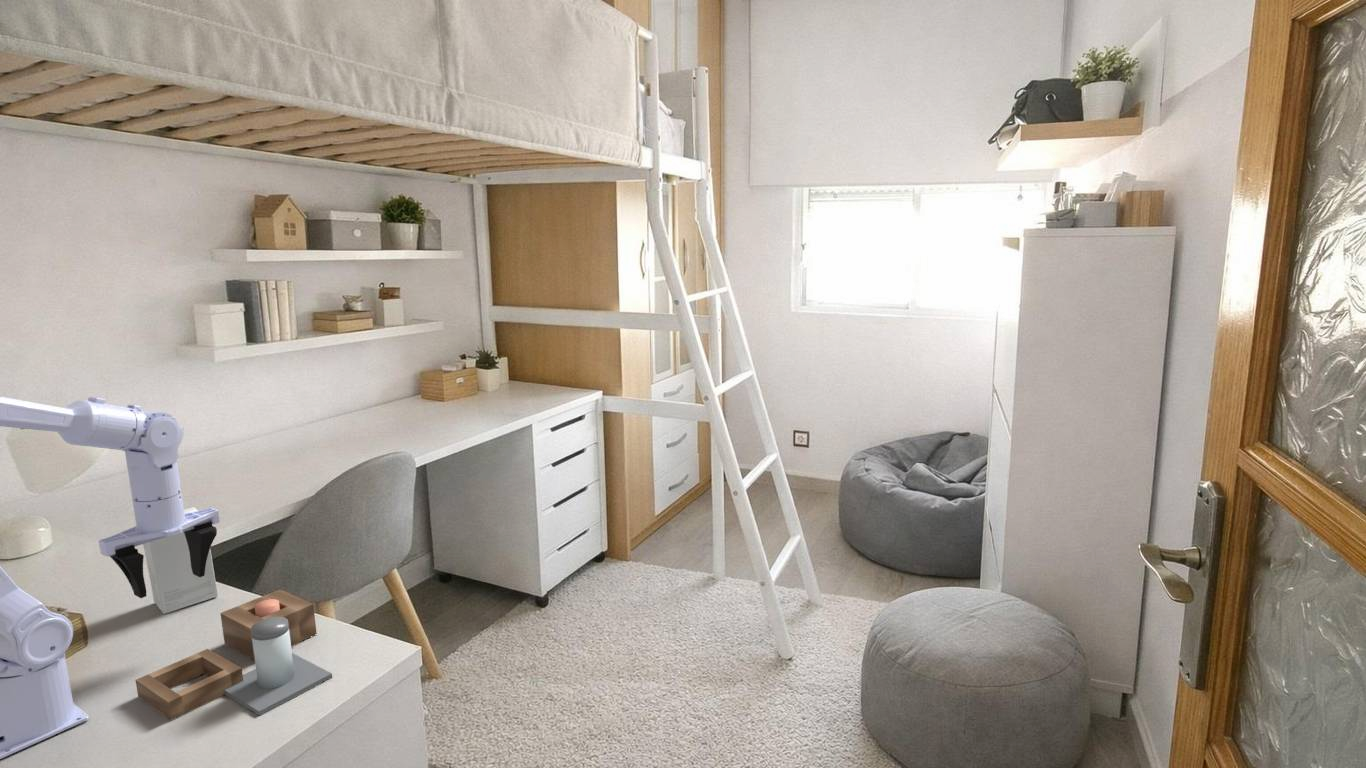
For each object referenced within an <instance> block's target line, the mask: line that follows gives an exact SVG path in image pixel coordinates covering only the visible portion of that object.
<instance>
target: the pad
mask: <svg viewBox="0 0 1366 768" xmlns="http://www.w3.org/2000/svg"><path fill="white" fill-rule="evenodd" d="M292 659H293V667H294V678H293V679H292V680H291V681H290V682H288V683H287V684H285V685H282V686H280V687H276V688H271V689H265V688H261V687H259V686H258V682H257V674H256V668H254V669H252V670H250V671H248V672H246V673H244V674H243V681H242V682H240V683H238V684H236V685H234V686H231V687H229V688H227V689H225V690H224V693H225V694H224V695H225V696H227V697H229V698H231V699H232V700H234V701H235V702H237V703H238V704H240V705H242V706H243V707H245V708H246V709H248V710H250V711H252V712H254V714H256V715H258V716H262V715H263V714H265V713H268V712H269V711H272V710H273V709H275V708H276V707H278V706H280V705H283V704H285V703H286V702H288V701H290V700H292V699H294V698H296V697H298V696H300V695H301V694H303V693H305V692H307V691H309V690H311V689H313V688H315V687H317V686H318V685H321V684H323V683H324V682H326V681H328V680H330V679H331V677H332V678H333V673H332V672H330V671H328V670H326V669H324V668H323V667H320V666H318V665H316V664H314V663H312V662H310V661H309V660H307V659H304V658H303V657H301V656H299V655H297V654H295V653H293V652H292ZM329 678H330V679H329ZM327 679H328V680H327ZM323 681H324V682H323ZM322 682H323V683H322ZM320 683H321V684H320Z"/></svg>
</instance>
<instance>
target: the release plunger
mask: <svg viewBox="0 0 1366 768" xmlns="http://www.w3.org/2000/svg"><path fill="white" fill-rule="evenodd" d="M279 610H280V606H279V601H278V600H276V599H269V600H264V601H261V602H259V603H257V604H256V605H255V614H256V615H257V616H259V617H261V618H262V617H264V616H267V615H269V614H272V613H274V612H276V611H279Z"/></svg>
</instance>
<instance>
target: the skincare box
mask: <svg viewBox="0 0 1366 768" xmlns="http://www.w3.org/2000/svg"><path fill="white" fill-rule="evenodd" d="M196 511H199V510H198V509H197V508H196V506H195V507H194V506H193V507H190V508H184V514H186V513H191V512H196ZM142 546H143V549H144V554H145V555H144V556H145V561H146V566H147V570H148V571H147V572H148V575H149V576H148V577H149V582H150V587H151V592H152V597H153V602H154V603H155V605H156V606H157V608H158V609H159V610H160V611H161V612H162V614H163V615H165V614H166V615H167V614H169V613H172V612H175V611H178V610H180V609H183V608H186V607H190V606H193V605H195V604H199V603H201V602H205V601H207V600H211V599H213V598H217V597H218V596H219V592H218V587H217V581H216V577H215V575H216V574H215V570H214V564H213V563H214V562H213V557H212V552H211V549H210V550H209V553H208V557H207V561H206V567H205V575H204V576H202V577H198V576H196V575H194V574H193V572H192V568H191V561H190V552H189V548H188V544H187V540H186V537H185V534H184V532H182V533H180V534H177V535H173V536H169V537H165V538H161V539H158V540H155V541H152V542H148V543H145V544H142Z"/></svg>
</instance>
